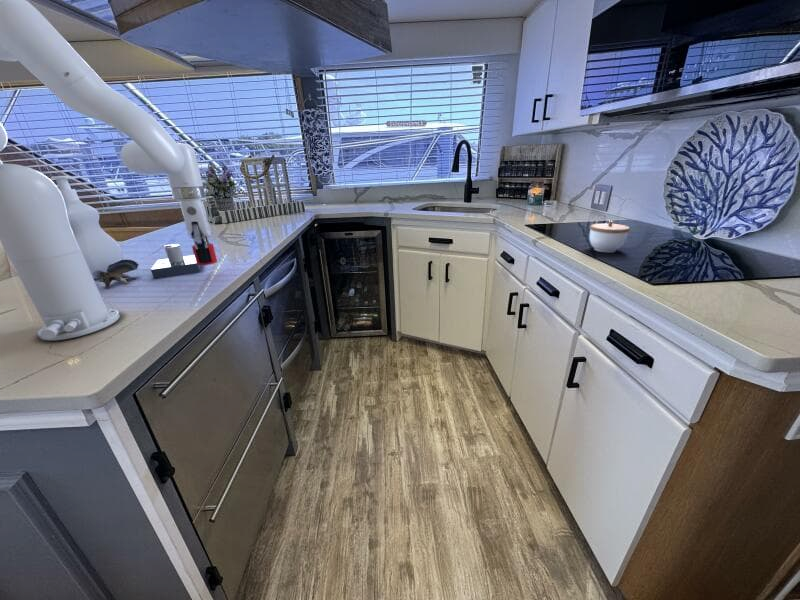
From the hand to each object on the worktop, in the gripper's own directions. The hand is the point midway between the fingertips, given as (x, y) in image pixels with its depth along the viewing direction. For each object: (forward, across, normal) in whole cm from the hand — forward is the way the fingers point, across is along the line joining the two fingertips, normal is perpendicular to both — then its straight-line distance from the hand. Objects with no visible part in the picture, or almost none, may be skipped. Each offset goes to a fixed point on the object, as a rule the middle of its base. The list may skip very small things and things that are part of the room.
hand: (206, 259), depth 93 cm
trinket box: (+4, -44, -117) cm, 125 cm away
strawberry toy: (+1, 0, 0) cm, 1 cm away
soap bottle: (+6, +24, +31) cm, 40 cm away
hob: (+5, +14, +9) cm, 18 cm away
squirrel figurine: (+6, +10, +23) cm, 26 cm away
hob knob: (+2, +14, +9) cm, 17 cm away
